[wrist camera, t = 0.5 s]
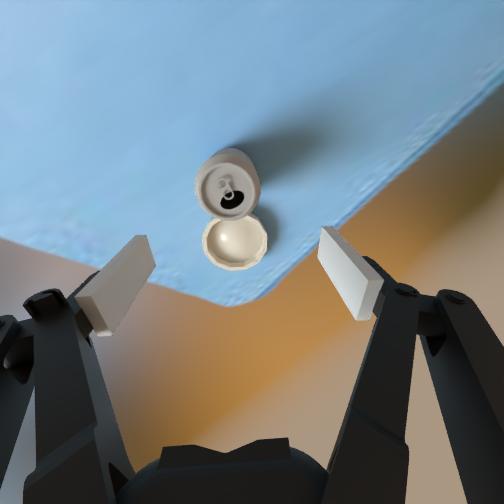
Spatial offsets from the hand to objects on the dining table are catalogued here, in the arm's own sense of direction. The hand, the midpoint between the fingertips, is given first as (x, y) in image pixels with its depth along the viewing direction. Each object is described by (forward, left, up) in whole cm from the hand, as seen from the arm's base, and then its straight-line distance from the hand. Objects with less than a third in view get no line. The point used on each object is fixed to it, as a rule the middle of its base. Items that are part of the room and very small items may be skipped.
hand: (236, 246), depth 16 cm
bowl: (+9, -1, -20) cm, 22 cm away
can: (-2, -1, -20) cm, 21 cm away
